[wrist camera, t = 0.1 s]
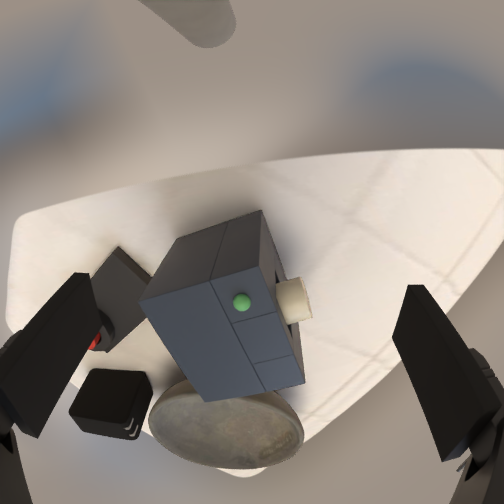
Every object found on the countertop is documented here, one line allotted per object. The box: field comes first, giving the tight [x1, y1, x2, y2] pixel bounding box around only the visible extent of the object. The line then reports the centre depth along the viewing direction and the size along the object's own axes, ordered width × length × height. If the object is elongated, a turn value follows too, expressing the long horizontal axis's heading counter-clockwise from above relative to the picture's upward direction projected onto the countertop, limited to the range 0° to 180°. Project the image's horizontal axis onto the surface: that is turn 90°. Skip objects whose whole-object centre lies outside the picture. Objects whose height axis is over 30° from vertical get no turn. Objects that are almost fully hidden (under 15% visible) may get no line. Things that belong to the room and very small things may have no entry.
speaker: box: [138, 210, 305, 403], centre depth 29 cm, size 10×12×13 cm
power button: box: [276, 277, 312, 325], centre depth 27 cm, size 4×4×4 cm
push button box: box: [90, 247, 152, 353], centre depth 36 cm, size 14×8×4 cm, turn 133°
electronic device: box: [69, 369, 153, 440], centre depth 39 cm, size 4×10×10 cm, turn 97°
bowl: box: [148, 379, 304, 469], centre depth 40 cm, size 21×21×8 cm
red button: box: [88, 332, 100, 350], centre depth 35 cm, size 3×3×2 cm
